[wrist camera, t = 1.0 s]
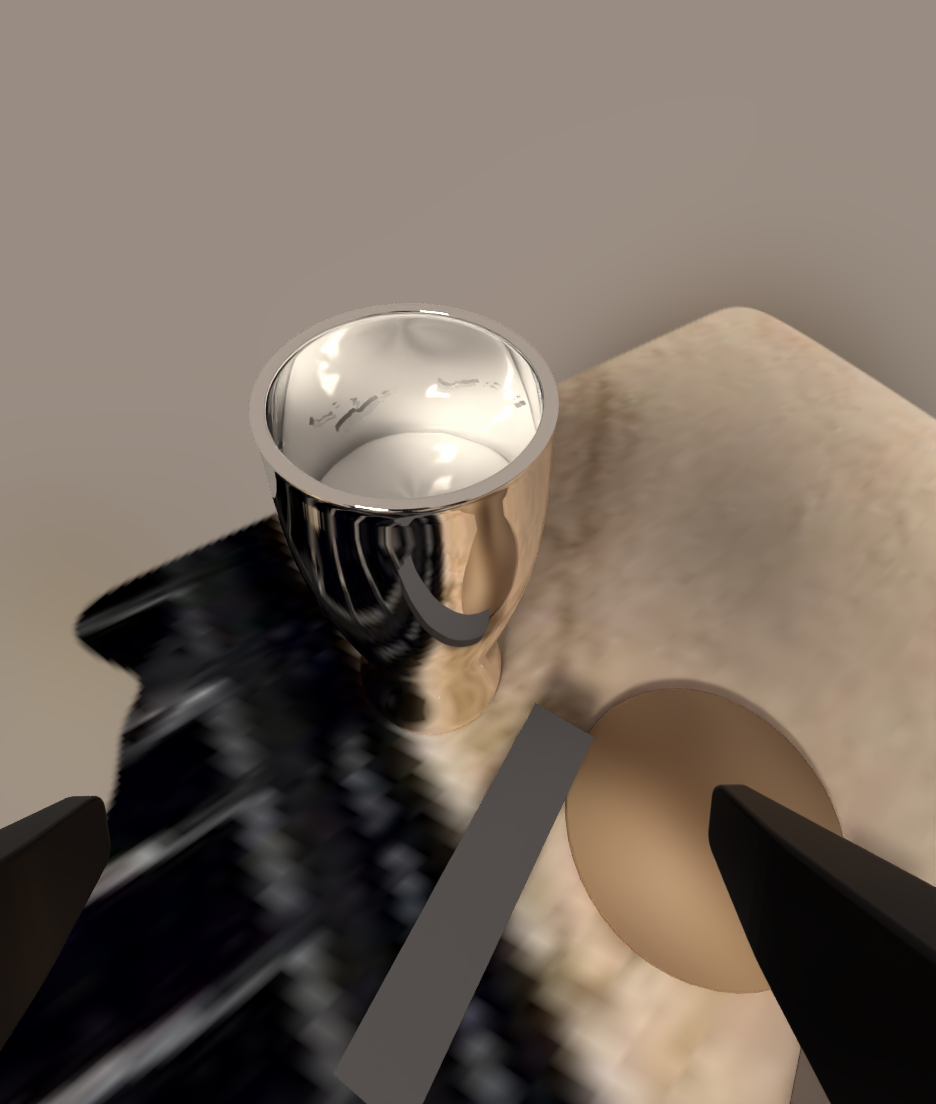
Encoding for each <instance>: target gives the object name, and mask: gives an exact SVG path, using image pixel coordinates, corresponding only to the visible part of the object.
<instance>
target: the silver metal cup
mask: <svg viewBox="0 0 936 1104" xmlns="http://www.w3.org/2000/svg"><path fill="white" fill-rule="evenodd" d="M248 411H249V424H250V429H251V433H252V436H253V439H254V442H255V444H256V446H257V448H258V450H259V452H260V456H261V459H262V462H263V465H264V469H265V473H266V477H267V480H268V484H269V488H270V491H271V495H272V498H273V501H274V505H275V508H276V511H277V514H278V518H279V521H280V524H281V527H282V530H283V532H284V535H285V537H286V540H287V543H288V545H289V548H290V551H291V553H292V556H293V558H294V561H295V563H296V565H297V567H298V569H299V571H300V573H301V575H302V577H303V579H304V581H305V583H306V585H307V587H308V588H309V590H310V592H311V594H312V596H313V597H314V599H315V600H316V602H317V603H318V605H319V606H320V607H321V609H322V610H323V611H324V613H325V614H326V615H327V617H328V618H329V619H330V621H331V622H332V623H333V625H334V626H335V627H336V628H337V629H338V630H339V631H340V633H341V634H342V635H343V636H344V637H345V638H346V639H347V640H348V641H349V642H350V644H351V645H352V646H353V647H354V648H355V649H356V650H357V651H358V652H359V653H360V654H361V656H360V676H361V682H362V686H363V689H364V692H365V694H366V697H367V699H368V701H369V702H370V704H371V705H372V707H373V708H374V709H375V711H376V712H377V713H378V714H379V715H380V716H381V717H382V718H384V719H385V720H386V721H387V722H389V723H390V724H392V725H394V726H396V727H398V728H400V729H402V730H405V731H408V732H411V733H416V734H425V735H433V734H442V733H446V732H450V731H453V730H456V729H458V728H461V727H462V726H464V725H466V724H468V723H469V722H471V721H472V720H474V719H475V718H476V717H477V716H478V715H479V714H481V713H482V712H483V710H484V709H485V708H486V707H487V706H488V704H489V703H490V701H491V700H492V698H493V696H494V694H495V692H496V689H497V687H498V683H499V679H500V674H501V654H500V649H499V644H498V641H497V639H498V637H499V636H500V634H501V633H502V631H503V629H504V628H505V626H506V624H507V623H508V621H509V619H510V618H511V616H512V614H513V612H514V611H515V609H516V607H517V605H518V603H519V601H520V599H521V597H522V595H523V593H524V590H525V588H526V586H527V584H528V582H529V579H530V577H531V575H532V572H533V568H534V565H535V561H536V558H537V554H538V551H539V547H540V543H541V539H542V535H543V529H544V523H545V517H546V512H547V506H548V498H549V489H550V479H551V470H552V457H553V443H554V433H555V427H556V424H557V420H558V414H559V396H558V390H557V385H556V382H555V379H554V376H553V374H552V372H551V370H550V368H549V367H548V365H547V363H546V362H545V360H544V359H543V358H542V356H541V355H540V354H539V352H538V351H537V350H536V349H535V348H534V347H533V346H532V345H531V344H530V343H529V342H528V341H527V340H525V339H524V338H523V337H521V336H520V335H519V334H518V333H516V332H514V331H513V330H511V329H510V328H508V327H506V326H505V325H503V324H501V323H499V322H497V321H495V320H492V319H490V318H488V317H485V316H482V315H480V314H477V313H474V312H471V311H467V310H463V309H459V308H454V307H449V306H442V305H436V304H424V303H396V304H385V305H377V306H370V307H365V308H360V309H356V310H352V311H349V312H345V313H342V314H339V315H336V316H333V317H331V318H328V319H326V320H323V321H321V322H319V323H317V324H315V325H313V326H311V327H309V328H307V329H305V330H304V331H302V332H300V333H299V334H297V335H296V336H294V337H293V338H292V339H290V340H289V341H288V342H287V343H285V344H284V345H283V346H282V347H281V348H280V349H278V350H277V351H276V352H275V353H274V355H273V356H272V357H271V358H270V359H269V360H268V362H267V363H266V364H265V366H264V367H263V369H262V370H261V372H260V373H259V375H258V377H257V379H256V381H255V384H254V386H253V389H252V392H251V396H250V400H249V410H248Z"/></svg>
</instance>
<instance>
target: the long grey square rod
mask: <svg viewBox="0 0 936 1104" xmlns="http://www.w3.org/2000/svg"><path fill="white" fill-rule="evenodd" d="M593 738H594V737H593V736H592V735H590V734H588V733H586V732H585V731H583V730H581V729H579V728H578V727H576V726H574V725H573V724H571V723H569V722H567V721H566V720H564V719H562V718H560V717H559V716H557V715H555V714H553V713H552V712H550V711H548V710H547V709H545V708H543V707H541V706H540V705H538V704H535V705H534V707H533V709H532V711H531V713H530V715H529V716H528V718H527V720H526V722H525V724H524V725H523V727H522V729H521V731H520V733H519V735H518V736H517V738H516V740H515V742H514V744H513V746H512V747H511V749H510V751H509V753H508V755H507V757H506V758H505V760H504V762H503V764H502V766H501V768H500V769H499V771H498V773H497V775H496V777H495V779H494V780H493V782H492V784H491V786H490V788H489V790H488V791H487V793H486V795H485V797H484V799H483V800H482V802H481V804H480V806H479V808H478V810H477V811H476V813H475V815H474V817H473V819H472V821H471V822H470V824H469V826H468V828H467V830H466V832H465V833H464V835H463V837H462V839H461V841H460V843H459V844H458V846H457V848H456V850H455V852H454V854H453V855H452V857H451V859H450V861H449V863H448V865H447V866H446V868H445V870H444V872H443V874H442V875H441V877H440V879H439V881H438V883H437V885H436V886H435V888H434V890H433V892H432V894H431V896H430V897H429V899H428V901H427V903H426V905H425V907H424V908H423V910H422V912H421V914H420V916H419V918H418V919H417V921H416V923H415V925H414V927H413V929H412V930H411V932H410V934H409V936H408V938H407V940H406V941H405V943H404V945H403V947H402V949H401V950H400V952H399V954H398V956H397V958H396V960H395V961H394V963H393V965H392V967H391V969H390V971H389V972H388V974H387V976H386V978H385V980H384V982H383V983H382V985H381V987H380V989H379V991H378V993H377V994H376V996H375V998H374V1000H373V1002H372V1004H371V1005H370V1007H369V1009H368V1011H367V1013H366V1015H365V1016H364V1018H363V1020H362V1022H361V1024H360V1025H359V1027H358V1029H357V1031H356V1033H355V1035H354V1036H353V1038H352V1040H351V1042H350V1044H349V1046H348V1047H347V1049H346V1051H345V1053H344V1055H343V1057H342V1058H341V1060H340V1062H339V1064H338V1066H337V1068H336V1069H335V1071H334V1073H333V1074H334V1075H335V1076H336V1077H337V1078H338V1079H339V1080H341V1081H342V1082H343V1083H344V1084H345V1085H346V1086H347V1087H349V1088H350V1089H351V1090H352V1091H353V1092H354V1093H355V1094H356V1095H358V1096H359V1097H360V1098H361V1099H362V1100H363V1101H364V1102H365V1103H367V1104H423V1101H424V1099H425V1097H426V1095H427V1093H428V1091H429V1089H430V1087H431V1084H432V1082H433V1080H434V1078H435V1076H436V1074H437V1072H438V1069H439V1067H440V1065H441V1063H442V1061H443V1059H444V1057H445V1054H446V1052H447V1050H448V1048H449V1046H450V1044H451V1042H452V1040H453V1037H454V1035H455V1033H456V1031H457V1029H458V1027H459V1025H460V1022H461V1020H462V1018H463V1016H464V1014H465V1012H466V1010H467V1008H468V1005H469V1003H470V1001H471V999H472V997H473V995H474V993H475V990H476V988H477V986H478V984H479V982H480V980H481V978H482V975H483V973H484V971H485V969H486V967H487V965H488V963H489V961H490V958H491V956H492V954H493V952H494V950H495V948H496V946H497V943H498V941H499V939H500V937H501V935H502V933H503V931H504V928H505V926H506V924H507V922H508V920H509V918H510V916H511V914H512V911H513V909H514V907H515V905H516V903H517V901H518V899H519V896H520V894H521V892H522V890H523V888H524V886H525V884H526V882H527V879H528V877H529V875H530V873H531V871H532V869H533V867H534V864H535V862H536V860H537V858H538V856H539V854H540V852H541V849H542V847H543V845H544V843H545V841H546V839H547V837H548V835H549V832H550V830H551V828H552V826H553V824H554V822H555V820H556V817H557V815H558V813H559V811H560V809H561V807H562V805H563V803H564V800H565V798H566V796H567V794H568V792H569V790H570V788H571V785H572V783H573V781H574V779H575V777H576V775H577V773H578V770H579V768H580V766H581V764H582V762H583V760H584V758H585V756H586V753H587V751H588V749H589V747H590V745H591V743H592V741H593Z"/></svg>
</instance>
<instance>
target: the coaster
mask: <svg viewBox="0 0 936 1104" xmlns="http://www.w3.org/2000/svg"><path fill="white" fill-rule="evenodd" d="M588 734H590V735H592V736H593V737H594V738H593V741H592V743H591V745H590V747H589V749H588V751H587V753H586V756H585V758H584V760H583V762H582V764H581V766H580V768H579V770H578V773H577V775H576V777H575V779H574V781H573V783H572V785H571V788H570V790H569V792H568V794H567V796H566V798H565V819H566V827H567V835H568V841H569V845H570V849H571V853H572V857H573V860H574V863H575V865H576V868H577V871H578V873H579V876H580V879H581V881H582V883H583V885H584V887H585V889H586V891H587V893H588V895H589V897H590V899H591V900H592V902H593V903H594V905H595V906H596V908H597V909H598V911H599V912H600V914H601V916H602V917H603V918H604V919H605V921H606V922H607V923H608V924H609V926H610V927H611V928H612V929H613V931H614V932H615V933H616V934H617V935H618V936H619V937H620V938H621V939H622V940H623V941H624V942H625V943H626V944H627V945H628V946H629V947H630V948H631V949H632V950H633V951H634V952H636V953H637V954H638V955H640V956H641V957H642V958H643V959H645V960H646V961H647V962H649V963H650V964H651V965H653V966H655V967H656V968H658V969H660V970H662V971H663V972H665V973H667V974H668V975H670V976H672V977H675V978H677V979H679V980H682V981H684V982H686V983H689V984H692V985H696V986H699V987H703V988H707V989H711V990H715V991H720V992H730V993H754V992H762V991H766V990H770V989H771V988H770V986H769V984H768V982H767V981H766V979H765V977H764V975H763V973H762V971H761V969H760V966H759V964H758V962H757V960H756V958H755V956H754V954H753V952H752V949H751V947H750V945H749V942H748V940H747V938H746V935H745V933H744V930H743V928H742V925H741V923H740V920H739V918H738V916H737V913H736V911H735V908H734V906H733V903H732V901H731V898H730V896H729V893H728V891H727V888H726V886H725V884H724V881H723V879H722V876H721V874H720V871H719V869H718V866H717V864H716V861H715V859H714V857H713V854H712V851H711V849H710V845H709V839H708V828H709V818H710V807H711V797H712V792H713V789H714V787H716V786H717V785H719V784H743V785H746V786H748V787H750V788H752V789H753V790H755V791H757V792H759V793H761V794H763V795H765V796H766V797H768V798H770V799H772V800H774V801H776V802H778V803H780V804H781V805H783V806H785V807H787V808H789V809H791V810H793V811H794V812H796V813H798V814H800V815H802V816H804V817H806V818H807V819H809V820H811V821H813V822H815V823H817V824H819V825H820V826H822V827H824V828H826V829H828V830H830V831H832V832H834V833H835V834H837V835H839V836H841V837H843V835H842V831H841V827H840V823H839V821H838V818H837V816H836V813H835V810H834V808H833V805H832V803H831V801H830V799H829V797H828V795H827V793H826V791H825V789H824V787H823V785H822V784H821V782H820V780H819V779H818V777H817V776H816V774H815V772H814V771H813V769H812V768H811V767H810V765H809V764H808V763H807V761H806V760H805V759H804V758H803V756H802V755H801V754H800V753H799V751H798V750H797V749H796V748H795V747H794V746H793V745H792V744H791V743H790V742H789V741H788V740H787V739H786V738H785V737H784V736H783V735H782V734H781V733H780V732H778V731H777V730H776V729H775V728H774V727H773V726H772V725H770V724H769V723H767V722H766V721H765V720H763V719H762V718H760V717H759V716H758V715H756V714H754V713H753V712H751V711H749V710H748V709H746V708H744V707H742V706H741V705H738V704H736V703H734V702H732V701H730V700H727V699H725V698H722V697H719V696H716V695H713V694H710V693H705V692H701V691H696V690H688V689H661V690H655V691H649V692H645V693H642V694H639V695H636V696H633V697H631V698H629V699H627V700H625V701H623V702H621V703H619V704H618V705H616V706H615V707H613V708H612V709H611V710H609V711H608V712H607V713H606V714H605V715H604V716H603V717H601V718H600V719H599V720H598V721H597V722H596V724H595V725H594V726H593V728H592V729H591V730H590V731H589V733H588Z"/></svg>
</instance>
